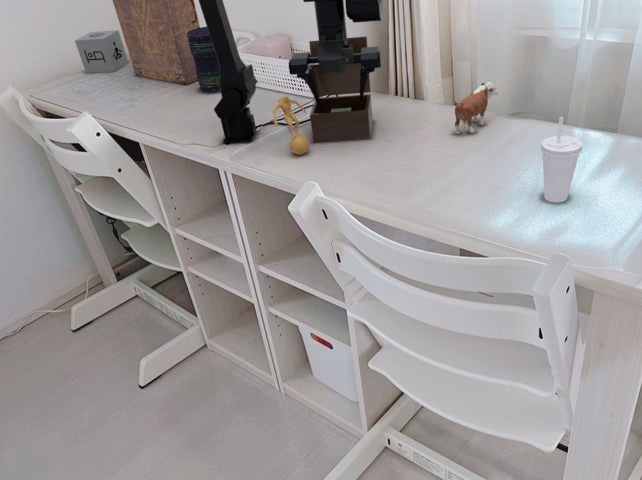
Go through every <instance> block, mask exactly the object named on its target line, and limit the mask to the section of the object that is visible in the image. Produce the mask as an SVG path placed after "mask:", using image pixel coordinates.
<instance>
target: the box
mask: <svg viewBox="0 0 642 480" xmlns="http://www.w3.org/2000/svg"><path fill="white" fill-rule="evenodd" d="M371 95H372V94H371V93H364V95H363V100H362V101H360V94H350V95H336V96H322V97H320V104H317V102H316V100H315V99H314V102H313V105H312V108H311V110H310V113H309V119H310V126H311V133H312V140H313V141H312V142H313V144H314V143H331V142H345V141H346V142H347V141H361V140H371V139H372V131H373V129H372V128H373V122H374V120H373V108H372V96H371ZM340 108H352V111H343V112H331V110H332V109H340Z"/></svg>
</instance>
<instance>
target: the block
mask: <svg viewBox="0 0 642 480" xmlns="http://www.w3.org/2000/svg"><path fill="white" fill-rule="evenodd" d="M343 111H352V108H340V109H332V110H331V112H343Z"/></svg>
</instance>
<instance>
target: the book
mask: <svg viewBox="0 0 642 480" xmlns="http://www.w3.org/2000/svg"><path fill="white" fill-rule="evenodd" d="M112 2H113V6H114V9H115V13H116V16H117V19H118V22H119V25H120V29H121V32H122V37H123V39H124V42H125V45H126V48H127V51H128V55H129V58H130V61H131V65H132V67H133V71H134V74H135V76H136V77H141V78H142V77H143V78H148V79H153V80H159V81H165V82H168V83H169V82H170V83H176V84H181V85H190V84H193V83H194V82H198V80H197V75H196V66H195V62H194V58H193V56H192V54H191V50H190V47H189V42H188V37H187V32H189V31H191V30H193V29H197V28H201V26H200V21H199V17H198V12H197V8H196V4H195V0H112ZM192 21H196V23H192Z"/></svg>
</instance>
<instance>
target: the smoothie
mask: <svg viewBox="0 0 642 480" xmlns="http://www.w3.org/2000/svg"><path fill="white" fill-rule="evenodd" d="M563 123H564V116H559V118H558V128H557V135H554V136H548V137H546V138H544V139H543V140H542V141H541V142H540V152H542V168H543V169H542V171H543V172H542V173H543V198H544V200H545V201H547V202H549V203H555V204H557V203H558V204H559V203H563V202H566V201H567V200H568V198H569V197H568V196H569V194H570V193H569V192H570V189H571V185H572V181H573V178H574V175H575V170H576V166H577V163H578V160H579V155H580V154H581V153H582V152H583V146H584V145H583V142H582V141H581V139H579V138H577V137H574V136H570V135H562V133H563V132H562V131H563Z"/></svg>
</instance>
